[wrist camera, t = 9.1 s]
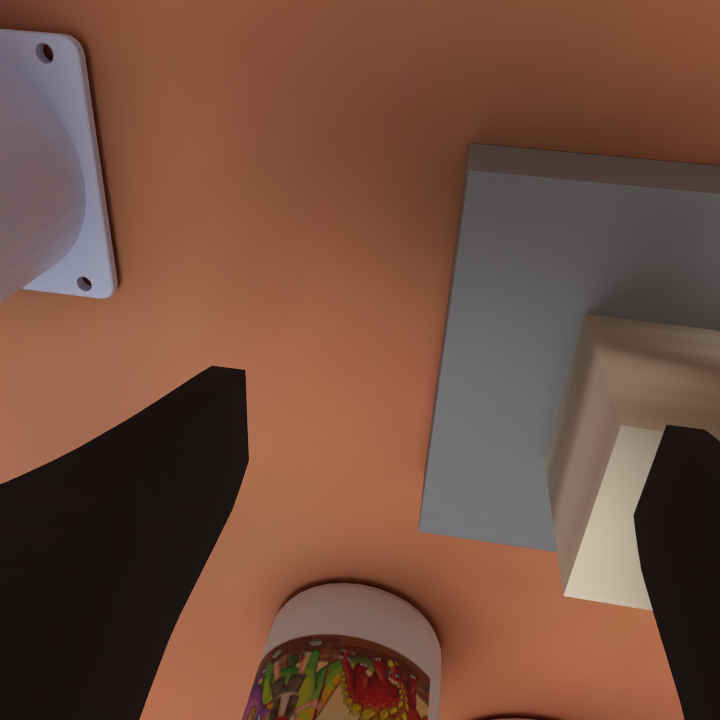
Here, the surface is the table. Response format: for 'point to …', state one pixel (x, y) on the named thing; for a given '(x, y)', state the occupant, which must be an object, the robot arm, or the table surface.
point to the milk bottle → (348, 659)
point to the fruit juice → (514, 719)
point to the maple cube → (621, 443)
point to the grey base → (551, 314)
